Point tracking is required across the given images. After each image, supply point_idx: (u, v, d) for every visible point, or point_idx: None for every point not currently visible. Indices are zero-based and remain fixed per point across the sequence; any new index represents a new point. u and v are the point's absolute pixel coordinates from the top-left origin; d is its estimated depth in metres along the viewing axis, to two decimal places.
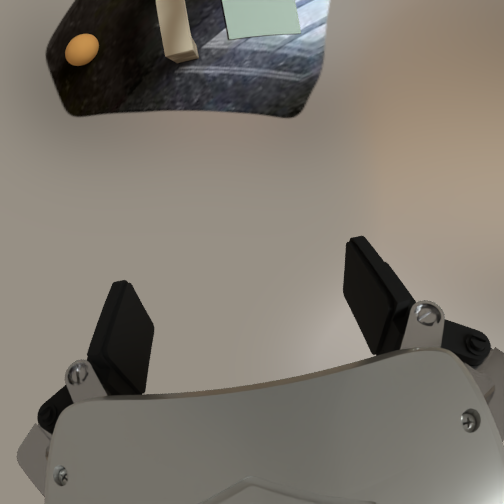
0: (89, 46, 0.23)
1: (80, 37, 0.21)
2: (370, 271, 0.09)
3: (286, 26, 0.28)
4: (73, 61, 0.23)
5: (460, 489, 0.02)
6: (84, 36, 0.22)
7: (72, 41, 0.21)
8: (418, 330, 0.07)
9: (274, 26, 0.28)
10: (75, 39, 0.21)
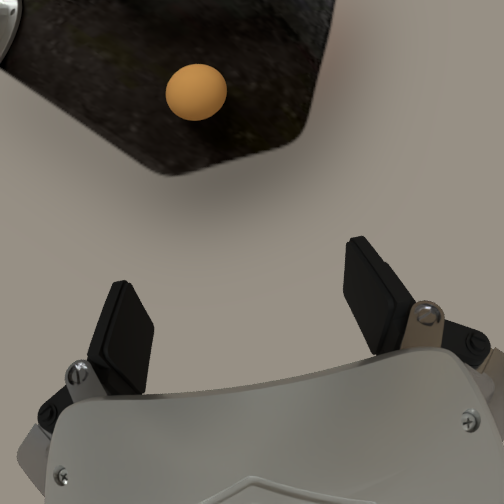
0: (199, 69, 0.17)
1: (174, 84, 0.17)
2: (370, 271, 0.09)
3: None
4: (217, 99, 0.19)
5: (460, 489, 0.02)
6: (175, 78, 0.17)
7: (176, 99, 0.18)
8: (418, 330, 0.07)
9: None
10: (174, 93, 0.18)
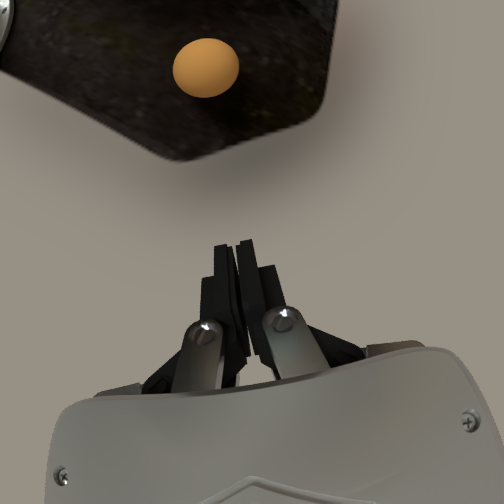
0: (208, 41, 0.15)
1: (182, 59, 0.15)
2: (240, 274, 0.10)
3: None
4: (230, 72, 0.16)
5: (460, 489, 0.02)
6: (183, 52, 0.15)
7: (185, 73, 0.16)
8: (283, 340, 0.07)
9: None
10: (183, 67, 0.15)
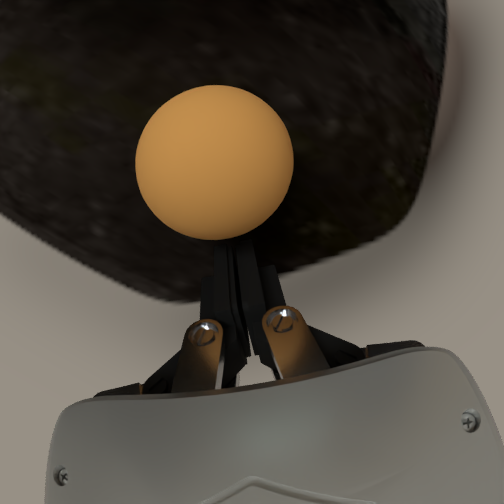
0: (218, 103, 0.06)
1: (150, 161, 0.06)
2: (240, 274, 0.10)
3: None
4: (279, 193, 0.08)
5: (460, 489, 0.02)
6: (151, 138, 0.06)
7: (164, 204, 0.07)
8: (283, 340, 0.07)
9: None
10: (155, 188, 0.07)
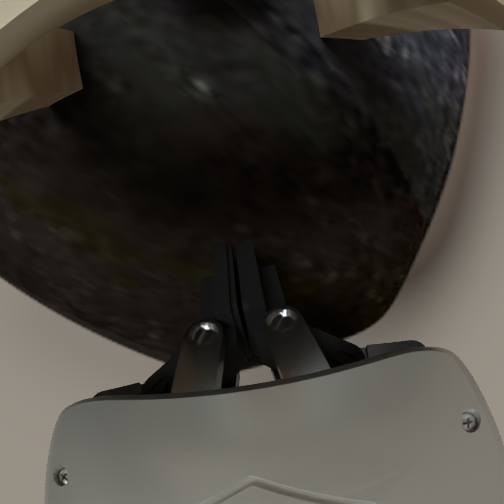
0: None
1: None
2: (240, 274, 0.10)
3: None
4: None
5: (460, 489, 0.02)
6: None
7: None
8: (283, 340, 0.07)
9: None
10: None
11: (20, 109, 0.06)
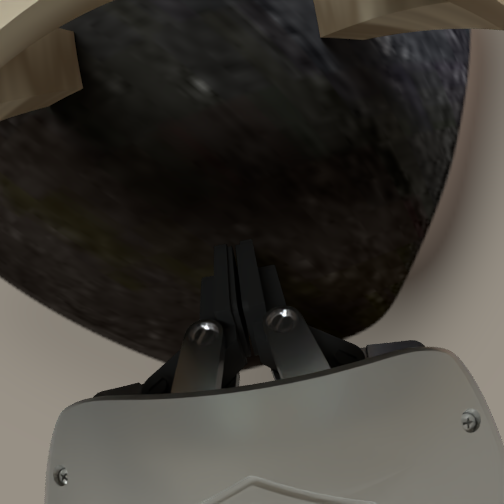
0: None
1: None
2: (240, 274, 0.10)
3: None
4: None
5: (460, 489, 0.02)
6: None
7: None
8: (283, 340, 0.07)
9: None
10: None
11: (20, 109, 0.06)
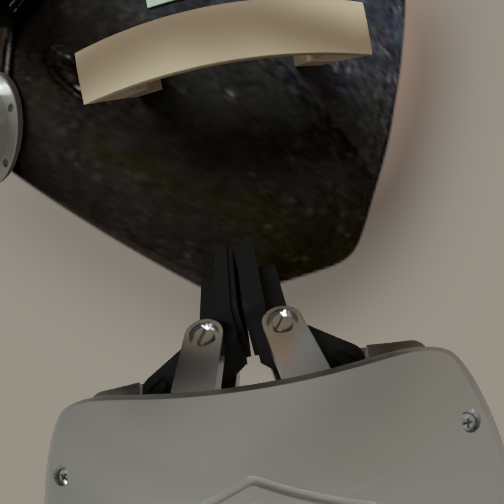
0: None
1: None
2: (240, 274, 0.10)
3: None
4: None
5: (460, 489, 0.02)
6: None
7: None
8: (283, 340, 0.07)
9: None
10: None
11: (133, 95, 0.15)
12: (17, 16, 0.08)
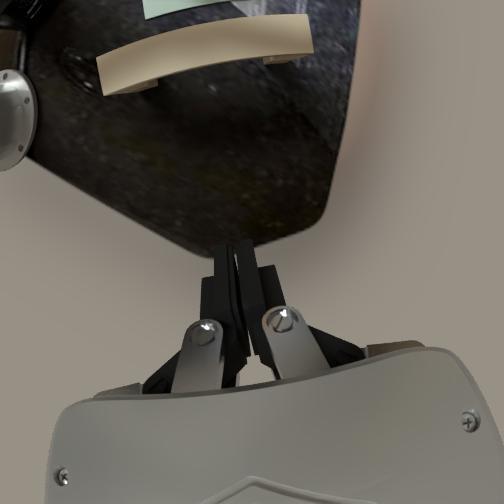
0: None
1: None
2: (240, 274, 0.10)
3: None
4: None
5: (460, 489, 0.02)
6: None
7: None
8: (283, 340, 0.07)
9: None
10: None
11: (136, 89, 0.19)
12: (32, 21, 0.12)
